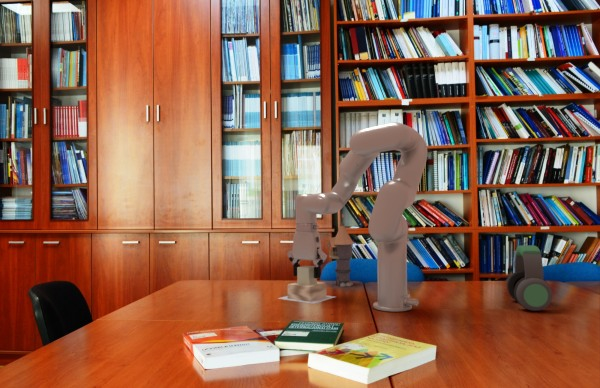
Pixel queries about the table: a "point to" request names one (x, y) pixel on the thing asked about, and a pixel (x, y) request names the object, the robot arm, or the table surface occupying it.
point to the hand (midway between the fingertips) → (306, 276)
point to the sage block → (306, 275)
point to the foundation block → (306, 291)
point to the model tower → (341, 255)
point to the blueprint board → (308, 301)
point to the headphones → (529, 280)
